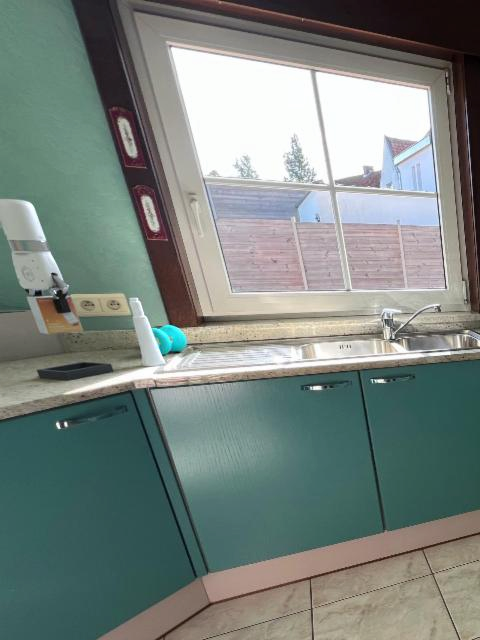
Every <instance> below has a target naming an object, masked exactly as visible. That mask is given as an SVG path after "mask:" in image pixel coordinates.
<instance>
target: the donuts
mask: <svg viewBox="0 0 480 640" xmlns="http://www.w3.org/2000/svg"><path fill="white" fill-rule="evenodd" d="M151 329H152V332H153V335H154V337H155V340H156V343H157V345H158V348H159V350H160V352H161V354H162V356H164V355H167V354H169V353H170V352H172V353H173V352H175V353H178V352H181V351H183V350H185V349H186V347H187V345H188V340H187V337H186V335H185V333H184V332H183V331H182V330H181V329H180V328H179V327H176V326H174V325H171V324H170V325H169V324H168V325H163V326H161V327H160V328H157V327H151ZM157 340H158V341H159V342H158V341H157ZM171 340H172V341H171Z"/></svg>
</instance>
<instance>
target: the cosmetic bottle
mask: <svg viewBox="0 0 480 640" xmlns="http://www.w3.org/2000/svg"><path fill="white" fill-rule="evenodd" d="M128 299H129V301H128V303H129V306H130V310H131V313H132V315H133V316H132V322H133V326H134V329H135V333H136V337H137V341H138V345H139V349H140V354H141V360H142V361H141V362H142V366H144V367H159V366H163V365H166V364H167V362H166V360H165V358H164V356H163V355H162V354H161V352H160V350H159V348H158V345H157V343H158V342H157V343H156V341H157V339H156V340H155V337H154V335H153V332H152V329H151V328H152V327H151V324H150V321H149V319H148V317H147V316H146V315H145V312H144V309H143V306H142V302H141V301H140V300H139V297H129V298H128Z"/></svg>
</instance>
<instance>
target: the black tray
mask: <svg viewBox="0 0 480 640" xmlns="http://www.w3.org/2000/svg"><path fill="white" fill-rule="evenodd" d="M36 372H37V375H38V378H39V379H45V380H57V381H72V380H78V379H84V378H88V377H94V376H98V375H103V374H108V373H114V367H113V365H112V363H107V362H95V361H94V362H93V361H80V362H74V363H68V364H62V365H57V366H51V367H45V368H39V369H36Z"/></svg>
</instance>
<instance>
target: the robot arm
mask: <svg viewBox="0 0 480 640" xmlns="http://www.w3.org/2000/svg"><path fill="white" fill-rule="evenodd" d="M0 229H3V233H4V236H5V238H6V240H7V243H8V245H9V248H10V251H11V259H12V260H11V261H12V264H13V269H14V271H15V275H16V277H17V281H18V283H19V285H20V287H21V288H23V289H24V291H25V292H26V293H27V294H28V297H41V296H45V291H48V292H49V294H50V296H53V298H54V299H52V300H53V303H54V305H55V308H56V311H57V313H70V312H71V310H70V307H69V304H68V301H67V298H68V297H67V296H68V291H69V288H70V286H69V284H68V283H66V281H64V278H63V275H62V273H61V270H60V268H59V266H58V264H57V262H56V260H55V259H54V256H53V255H52V252H51V249H50V247H49V244H48V241H47V238H46V235H45V233H44V231H43V227H42V225H41V222H40V219H39V217H38V213H37V211H36V208H35V206H34V205H33V203H32V202H31V201H28V200H23V199H16V198H15V199H13V198H0Z"/></svg>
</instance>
